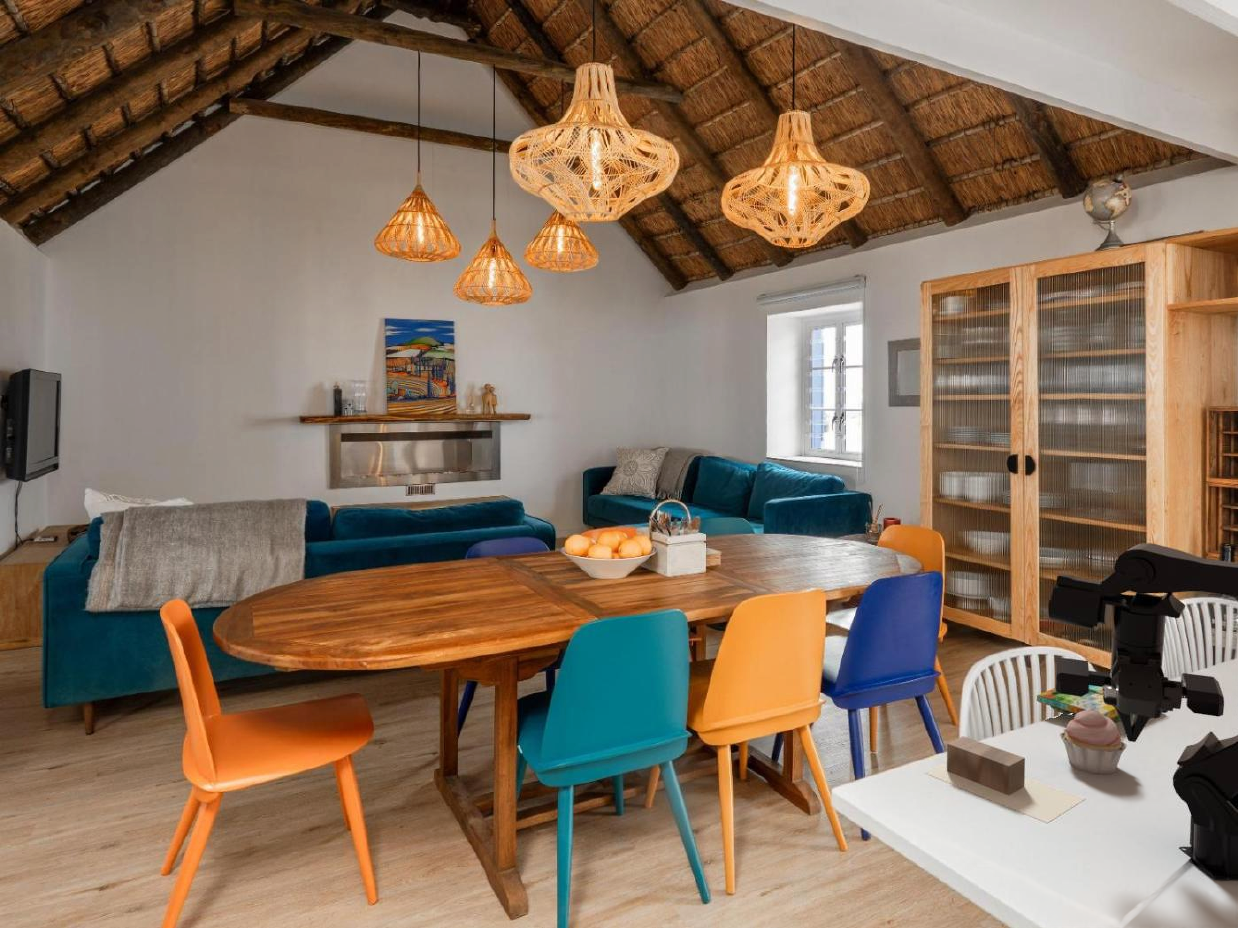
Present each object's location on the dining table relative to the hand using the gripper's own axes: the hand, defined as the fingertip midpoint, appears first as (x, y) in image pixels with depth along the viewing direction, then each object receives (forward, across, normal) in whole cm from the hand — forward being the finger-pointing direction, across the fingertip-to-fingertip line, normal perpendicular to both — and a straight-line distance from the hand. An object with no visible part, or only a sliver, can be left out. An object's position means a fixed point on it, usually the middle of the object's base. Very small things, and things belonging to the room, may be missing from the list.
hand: (1131, 739), depth 109 cm
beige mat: (+13, -16, +1) cm, 20 cm away
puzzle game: (+21, -2, +41) cm, 46 cm away
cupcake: (+16, -4, +14) cm, 22 cm away
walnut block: (+10, -14, 0) cm, 17 cm away
